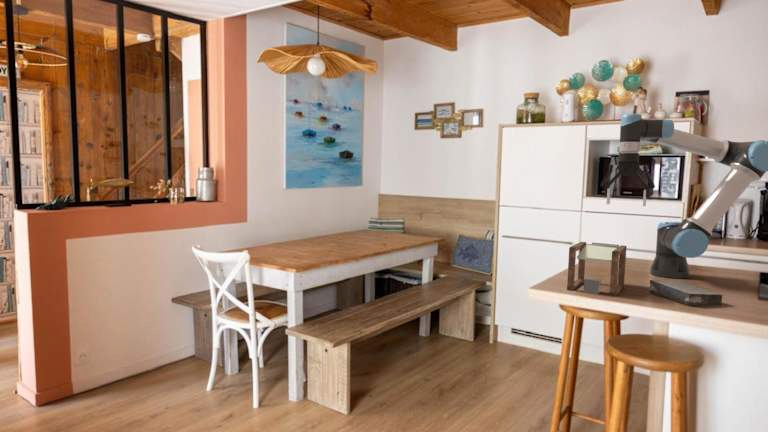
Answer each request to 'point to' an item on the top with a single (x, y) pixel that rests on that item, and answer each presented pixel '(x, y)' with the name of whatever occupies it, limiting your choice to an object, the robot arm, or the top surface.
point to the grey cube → (592, 285)
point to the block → (684, 293)
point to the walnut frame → (617, 256)
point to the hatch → (597, 252)
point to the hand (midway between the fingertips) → (625, 205)
